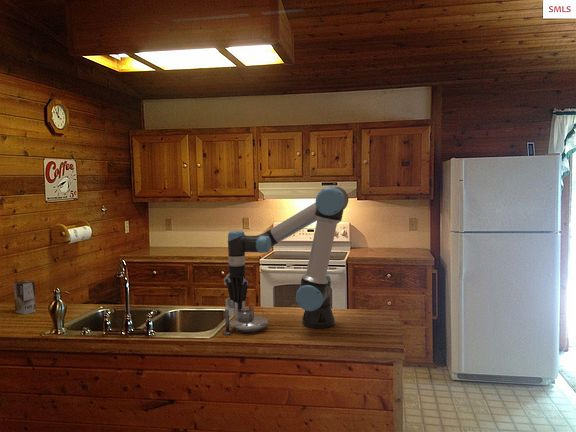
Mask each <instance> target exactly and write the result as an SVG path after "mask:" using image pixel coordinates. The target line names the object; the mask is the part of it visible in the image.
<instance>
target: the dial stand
mask: <svg viewBox="0 0 576 432" xmlns="http://www.w3.org/2000/svg"><path fill="white" fill-rule="evenodd" d="M224 308H225V309H224V310H225V312H224V313H225V314H224V316H225V320H224V321H225V331H222V336H230V335H233V331H232V330H230V317H231V316H233V315H234V316H235V314H234V308H233V307H231V306H229V307H226V306H225V307H224Z"/></svg>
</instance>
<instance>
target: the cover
mask: <svg viewBox="0 0 576 432" xmlns="http://www.w3.org/2000/svg"><path fill="white" fill-rule="evenodd" d="M238 321H239V322H251V321H253V311H252V310H249V307H245V308H243V309H242V310H239V311H238Z"/></svg>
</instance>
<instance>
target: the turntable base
mask: <svg viewBox="0 0 576 432" xmlns="http://www.w3.org/2000/svg"><path fill="white" fill-rule="evenodd" d="M262 331H263V328H261V329H256V330H238V329H235V332H237V333H240V334H246V335H247V334H249V335H250V334H256V333H261V332H262Z"/></svg>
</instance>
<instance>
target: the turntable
mask: <svg viewBox="0 0 576 432" xmlns="http://www.w3.org/2000/svg"><path fill="white" fill-rule="evenodd" d="M248 310H252V311H253V321H251V322H239V321H238V317H235V318H231V320H229V328H232V329H234V330H236V329H238V330H256V329H261V328H262V329H264V328H266V327H267V326H268V325H269V320H268V318H266V317H265V316H259V315H255V304H254V303H248Z"/></svg>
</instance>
